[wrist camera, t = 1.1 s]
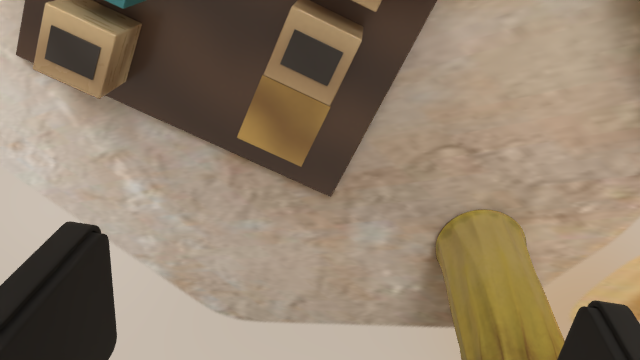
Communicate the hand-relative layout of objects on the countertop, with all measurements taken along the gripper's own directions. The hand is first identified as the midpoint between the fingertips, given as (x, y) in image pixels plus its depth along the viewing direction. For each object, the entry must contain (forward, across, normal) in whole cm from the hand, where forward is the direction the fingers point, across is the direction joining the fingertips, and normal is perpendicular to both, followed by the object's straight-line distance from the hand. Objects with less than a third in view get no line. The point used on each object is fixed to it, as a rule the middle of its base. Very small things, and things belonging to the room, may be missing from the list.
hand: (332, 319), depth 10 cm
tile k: (+23, +16, +1) cm, 28 cm away
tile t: (+23, +3, 0) cm, 23 cm away
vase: (+24, -10, +12) cm, 29 cm away
